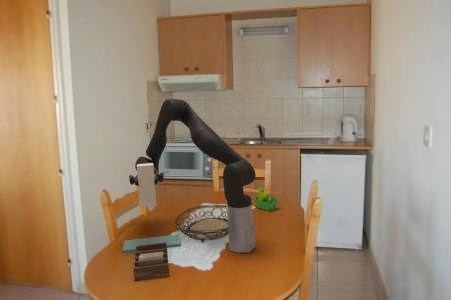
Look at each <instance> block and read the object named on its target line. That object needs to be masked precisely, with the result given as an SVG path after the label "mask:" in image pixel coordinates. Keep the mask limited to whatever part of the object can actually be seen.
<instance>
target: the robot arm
mask: <svg viewBox="0 0 451 300" xmlns="http://www.w3.org/2000/svg"><path fill="white" fill-rule="evenodd" d="M172 121H173V122H181V123H182V124H184V125H185V126H186V127H187V129H189V133H190V139H191V140H192V143H193V144H194V145H195V146H196V148H198V150H200V152H201V153H202V154H204V155H206V156H208V157H210V158H212V159H214V160H216V161H218V162H220V163H222V164H224V165H225V166H224V168H223V172H222V183H223V191H224V197H225V201H226V203H227V205H226V212H227V211H228V222H227V226H228V227H227V228H228V230H227V231H228V247H229V250H230V251H231V252H234V253H239V254H240V253H250V252H251V251H252V250H254V249H255V248H256V226H255V223H254V222H253V201H252V196H251V195H249V194H245V192H244V187H246V186H248V185H250V184H252V183H253V182H254V181H255V180H256V170H255V168H254V167H253V165H252V164H251V162H249V161H248V160H247V159H245V158H244V157H243V156H242V155H241V154H239V153H238V152H237V151H235V150H234V149H233V148H232V147H231V146H230V145H229V144H228V143H227V142H225V141H224V140H223V139H222V138H221V137H220V136H219V135H218V133H216V132H215V130H213V128H211V127H210V126H209V125H208V124H207V123H206V121H204V120H203V119H202V118H201V117H200V116H199V115H198V114H197V112H196V111H194V108H192V107H191V105H190V104H189V103H188V102H187V101H186V100H184V99H180V98H179V99H178V98H167V99H165V100H164V101H163V102H162V105H161V107H160V110H159V113H158V117H157V120H156V124H155V128H154V132H153V134H152V137H151V139H150V141H149V144H148V145H147V147H146V151H145V155H146V157H145V156H140V157H138V158H137V159H136V161H135V171H136V172H137V164H148V163H153V167H154V183H155V186H156V185H157V184H159V183H162V182H164V180H165V173H164V172H160V173H159V174H157V173H158V172H159V166H160V159H161V156H162V154H163V152H164V150H165V148H166V147H167V141H168V137H167V130H168V127H169V125H170V124H171V123H172ZM128 179H129V184H130V185H132V186H133V185H134V186H136V187H139V184H138V174H137V175H135V176H134V175H132V174H130V175H129V176H128Z"/></svg>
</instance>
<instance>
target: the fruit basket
mask: <svg viewBox="0 0 451 300" xmlns="http://www.w3.org/2000/svg"><path fill="white" fill-rule="evenodd" d="M256 192H257V194H256V195H257V196H255V197H253V199H254V203H255V205H256V208H258V209H261V210H263V211H266V212H270V211H273V210H276V209H277V205H278V202H279V199H277V198H274V197H271V196H269V193H268V191H266V190H265V189H264V187H260V188H258V189H257V191H256Z"/></svg>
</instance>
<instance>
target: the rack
mask: <svg viewBox="0 0 451 300" xmlns="http://www.w3.org/2000/svg"><path fill="white" fill-rule="evenodd" d="M162 251H163V259H164V264H156V265H149V266H141V267H139V264H138V259H139V256H140V254H146V253H154V252H162ZM134 260H135V261H134V263H133V265H134V267H133V275H134V276H133V277H134V278H133V279H134V281H135V282H137V281H141V280H142V281H143V280H144V281H145V280H150V279H157V278H164V277H165V278H166V277H170V267H169V256H168V248H167V243H166V242H164V243H155V244H147V245H138V246H136V252H135V256H134Z"/></svg>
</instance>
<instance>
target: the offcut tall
mask: <svg viewBox="0 0 451 300" xmlns="http://www.w3.org/2000/svg"><path fill="white" fill-rule="evenodd" d="M138 264H139V267H141V266H149V265H156V264H164V259H163V256H155V257H147V258H139V259H138Z"/></svg>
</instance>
